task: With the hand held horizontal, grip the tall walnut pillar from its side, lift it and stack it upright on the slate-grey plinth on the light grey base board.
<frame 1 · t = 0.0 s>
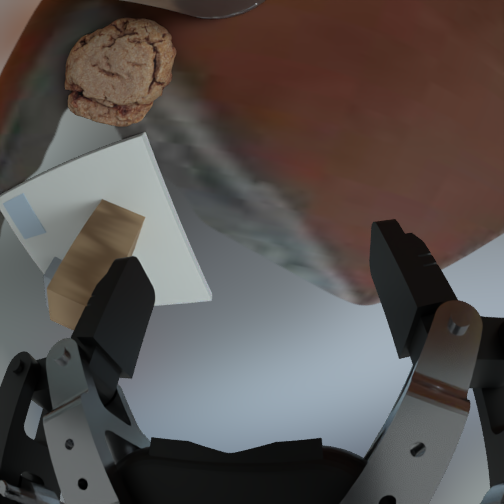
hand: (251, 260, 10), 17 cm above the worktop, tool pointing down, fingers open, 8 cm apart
base board: (95, 244, 32), on the worktop
walnut pillar: (118, 225, 29), point 1 cm above the worktop, touching base board
cookie: (121, 68, 19), on the worktop
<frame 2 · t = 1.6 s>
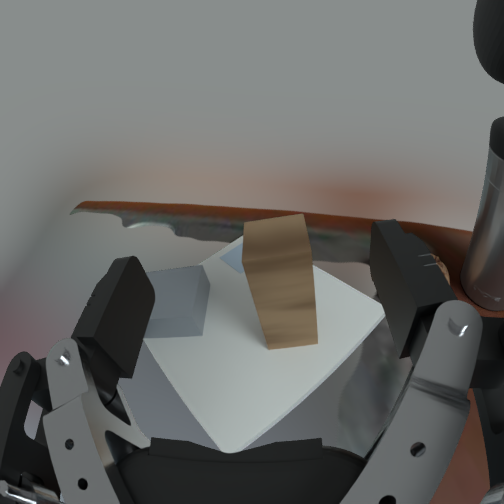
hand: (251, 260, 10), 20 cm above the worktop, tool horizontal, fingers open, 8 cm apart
base board: (243, 319, 34), on the worktop
walnut pillar: (291, 327, 30), point 1 cm above the worktop, touching base board
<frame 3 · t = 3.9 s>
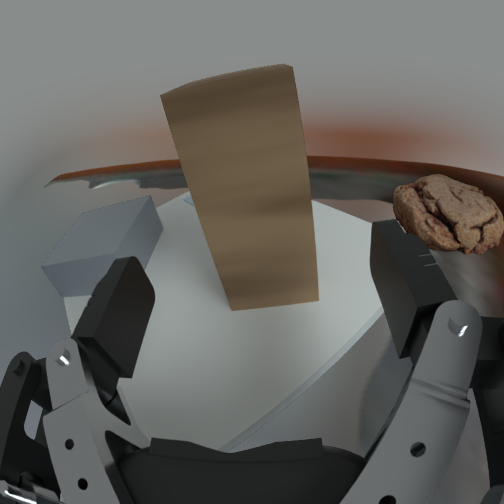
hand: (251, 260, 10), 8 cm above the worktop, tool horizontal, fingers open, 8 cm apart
base board: (202, 270, 22), on the worktop
walnut pillar: (274, 276, 18), point 1 cm above the worktop, touching base board
cookie: (448, 223, 21), on the worktop
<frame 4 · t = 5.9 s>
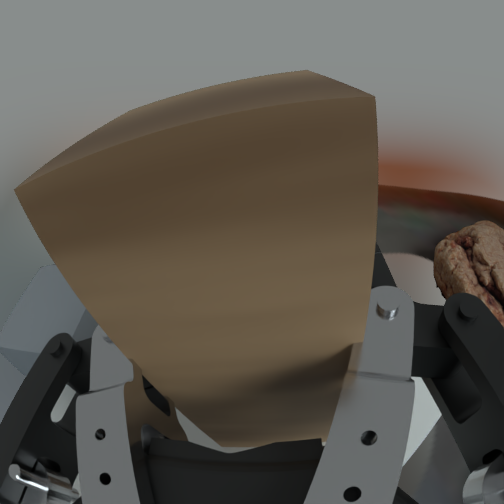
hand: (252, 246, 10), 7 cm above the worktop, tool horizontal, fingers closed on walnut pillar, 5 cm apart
base board: (183, 364, 16), on the worktop
walnut pillar: (279, 395, 12), point 1 cm above the worktop, touching base board, gripper
cookie: (494, 288, 15), on the worktop
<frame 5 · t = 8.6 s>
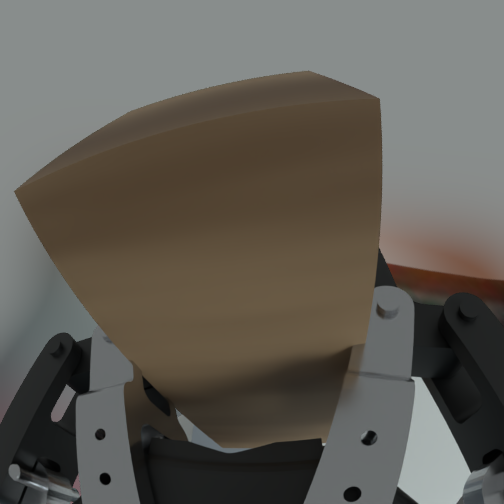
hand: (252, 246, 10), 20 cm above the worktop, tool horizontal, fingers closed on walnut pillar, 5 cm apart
base board: (352, 440, 20), on the worktop
walnut pillar: (280, 396, 12), point 13 cm above the worktop, touching gripper
when the fingers open (12 cm above the worktop, at t = 11.3 s): walnut pillar stays where it is, resting on base board.
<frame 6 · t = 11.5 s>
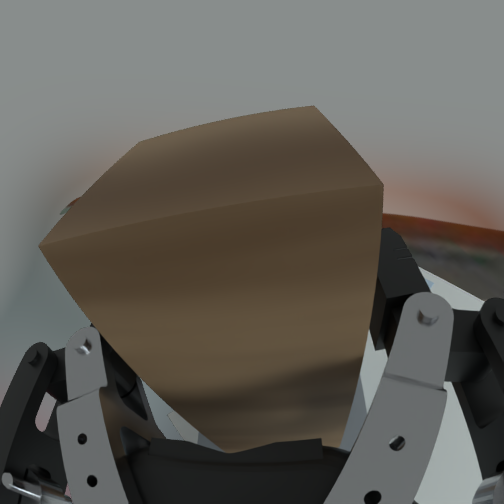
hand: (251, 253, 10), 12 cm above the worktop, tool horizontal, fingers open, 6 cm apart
base board: (424, 425, 13), on the worktop
walnut pillar: (282, 405, 13), point 4 cm above the worktop, touching base board
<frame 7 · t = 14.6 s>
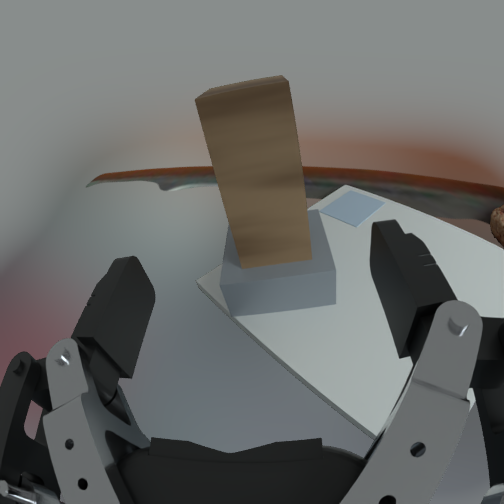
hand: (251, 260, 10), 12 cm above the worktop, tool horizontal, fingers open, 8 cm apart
base board: (380, 281, 23), on the worktop
walnut pillar: (275, 243, 23), point 4 cm above the worktop, touching base board
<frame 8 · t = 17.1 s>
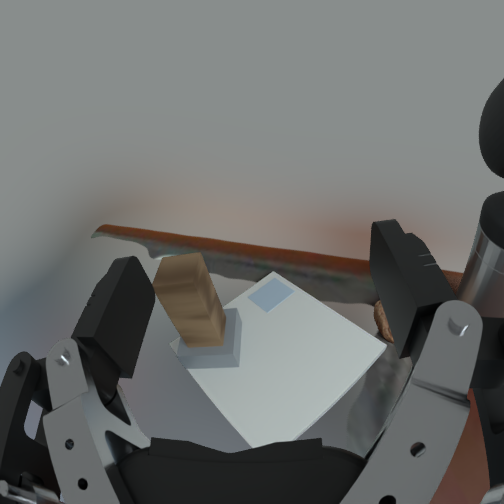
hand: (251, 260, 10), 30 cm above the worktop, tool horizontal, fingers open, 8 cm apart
base board: (271, 352, 40), on the worktop
walnut pillar: (207, 332, 40), point 4 cm above the worktop, touching base board
cookie: (405, 321, 40), on the worktop
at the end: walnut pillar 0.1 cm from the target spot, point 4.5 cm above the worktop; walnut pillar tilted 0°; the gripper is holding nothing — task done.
